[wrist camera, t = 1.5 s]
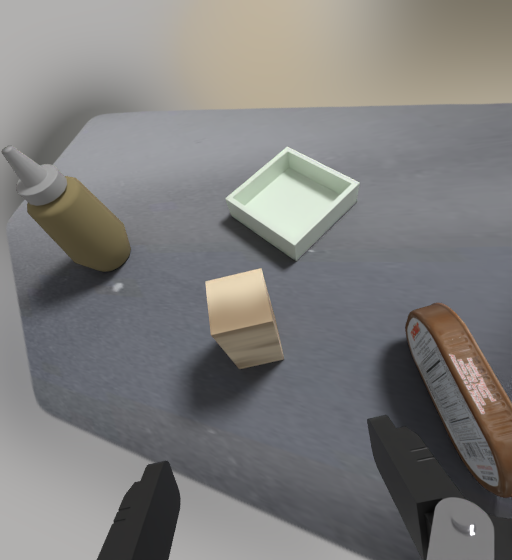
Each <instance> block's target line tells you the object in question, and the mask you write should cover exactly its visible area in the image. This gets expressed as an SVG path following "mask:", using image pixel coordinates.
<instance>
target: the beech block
mask: <svg viewBox="0 0 512 560" xmlns="http://www.w3.org/2000/svg"><path fill="white" fill-rule="evenodd" d="M205 283H206V292H207V302H208V311H209V321H210V330H211V336H212V337H213V338H214V339H215V340H216V342H217V343H218V344H219V345H220V346H221V348H222V349H223V350H224V351H225V352H226V354H227V355H228V356H229V357H230V358H231V360H232V361H233V362H234V363H235V364H236V366H237V367H238V368H239V369H243V368H247V367H252V366H256V365H261V364H266V363H270V362H275V361H279V360H284V356H283V351H282V347H281V342H280V338H279V333H278V329H277V324H276V320H275V316H274V312H273V309H272V305H271V301H270V298H269V294H268V291H267V287H266V283H265V280H264V276H263V273H262V269H261V268H260V269H256V270H252V271H248V272H244V273H239V274H235V275H231V276H227V277H222V278H218V279H214V280H210V281H206V282H205Z"/></svg>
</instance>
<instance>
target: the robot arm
mask: <svg viewBox="0 0 512 560" xmlns="http://www.w3.org/2000/svg"><path fill="white" fill-rule="evenodd" d="M367 423H368V429H369V435H370V441H371V447H372V452H373V456H374V460H375V462H376V465H377V468H378V470H379V472H380V474H381V476H382V478H383V480H384V482H385V484H386V486H387V488H388V490H389V492H390V495H391V497H392V499H393V501H394V503H395V505H396V507H397V509H398V511H399V513H400V515H401V517H402V519H403V521H404V523H405V525H406V527H407V529H408V531H409V533H410V536H411V538H412V540H413V542H414V544H415V546H416V548H417V550H418V552H419V554H420V556H421V558H422V560H512V519H507V518H500V517H496V516H492V515H489V514H487V513H485V512H484V511H483V510H482V509H481V508H480V507H478V506H477V505H475V504H474V503H472V502H470V501H468V500H466V499H465V498H464V497H463V495H462V494H461V493H460V491H459V490H458V489H457V487H456V486H455V484H454V483H453V482H452V480H451V479H450V478H449V476H448V475H447V474H446V472H445V471H444V469H443V468H442V467H441V465H440V464H439V463H438V461H437V460H436V459H435V458H434V456H433V455H432V453H431V452H430V450H429V449H427V446H426V445H425V444H424V442H423V441H422V440H421V438H420V437H419V435H417V434H416V433H415V432H413V431H412V430H410V429H409V428H407V427H406V426H405V427H400V428H395V426H394V424H393V423H392V421H391V420H390V418H389V417H388V416H387V415H384V416H379V417H374V418H369V419H367ZM179 511H180V493H179V489H178V486H177V483H176V481H175V478H174V475H173V472H172V469H171V466H170V464H169V462H168V461H163V462H158V463H153V464H149V465H147V467H146V468H145V471H144V474H143V476H142V479H141V481H139V482H135V483H134V484H133V485H132V487H131V488H130V489H129V490H128V492H127V493H126V494H125V496H124V498H123V500H122V503H121V505H120V507H119V512H117V514H116V517H115V519H114V524H112V526H111V528H110V530H109V533H108V535H107V537H106V540H105V542H104V544H103V547H102V549H101V552H100V554H99V556H98V558H97V560H168V559H169V554H170V549H171V546H172V541H173V536H174V532H175V528H176V524H177V519H178V515H179Z"/></svg>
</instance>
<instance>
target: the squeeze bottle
mask: <svg viewBox="0 0 512 560" xmlns="http://www.w3.org/2000/svg"><path fill="white" fill-rule="evenodd" d="M2 154H3V155H4V157H5V158H6V160H7V161H8V163H9V164H10V165H11V167H12V168H13V170H14V171H15V173H16V174H17V176H18V177H19V181H18V183H17V185H16V190H17V192H18V193H19V194H20V195H21V196H22V197H23V198H24V199H25V200H26V201H27V202H28V204H27V212H28V213H29V215H30V216H31V217H32V218H33V219H34V220H35V221H36V222H37V223H38V224H39V225H40V226H41V227H42V228H43V229H44V231H45V232H46V233H47V234H48V235H49V236H50V237H51V238H52V239H53V240H54V241H55V242H56V243H57V244H58V245H59V246H60V247H61V248H62V249H63V250H64V252H65V253H66V254H67V255H68V256H69V257H70V258H71V259H72V260H73V261H74V262H75V263H77V264H80V265H83V266H86V267H89V268H92V269H95V270H99V271H102V272H106V271H112V270H114V269H116V268H119V267H120V266H121V265H122V264H123V263H124V262H125V261H126V260H127V258H128V257H129V255H130V250H131V248H130V244H129V241H128V237H127V234H126V230H125V227H124V224H123V223H122V222H121V221H120V220H119V219H118V218H117V217H116V216H115V215H114V214H113V213H112V212H111V211H110V210H109V209H108V208H107V207H106V206H105V205H104V204H103V203H101V202H100V201H99V200H98V199H97V198H96V197H95V196H94V195H93V194H92V193H91V192H90V191H89V190H88V189H87V188H86V187H85V186H84V185H83V184H82V183H81V182H80V181H79V180H77V179H76V178H73V177H68V176H64V175H63V174H62V173H61V172H60V171H59V170H58V169H57V168H56V167H55V166H54V165H49V164H45V165H38V164H37V163H35V162H34V161H33V160H31V159H30V158H28V157H27V156H26V155H24V154H23V153H22V152H20V151H19V150H17V149H16V148H15V147H13V146H7V147H5V148H4V149H3V150H2Z"/></svg>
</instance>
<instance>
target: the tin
mask: <svg viewBox="0 0 512 560" xmlns="http://www.w3.org/2000/svg"><path fill="white" fill-rule="evenodd" d="M405 329H406V336H407V341H408V345H409V348H410V351H411V354H412V357H413V359H414V361H415V364H416V366H417V368H418V370H419V372H420V375H421V377H422V379H423V381H424V383H425V386H426V388H427V390H428V392H429V394H430V396H431V399H432V401H433V403H434V405H435V407H436V409H437V411H438V414H439V416H440V418H441V420H442V422H443V424H444V426H445V428H446V430H447V433H448V435H449V437H450V439H451V441H452V443H453V445H454V447H455V448H456V450H457V452H458V454H459V456H460V457H461V459H462V461H463V462H464V464H465V465H466V467H467V468H468V470H469V471H470V472H471V474H472V475H473V476H474V478H475V479H476V480H477V481H478V482H479V483H480V484H481V485H482V486H483V487H484V488H485V489H487V490H488V491H490V492H492V493H494V494H495V495H497V496H500V497H503V498H508V497H512V403H511V401H510V399H509V397H508V396H507V394H506V392H505V391H504V389H503V387H502V386H501V384H500V382H499V381H498V379H497V377H496V375H495V374H494V372H493V370H492V369H491V367H490V365H489V364H488V362H487V360H486V358H485V357H484V355H483V353H482V351H481V350H480V348H479V346H478V345H477V343H476V341H475V339H474V338H473V336H472V334H471V333H470V331H469V329H468V328H467V326H466V325H465V323H464V322H463V321H462V319H461V318H460V317H459V316H458V315H457V314H456V313H455V312H454V311H453V310H452V309H451V308H449V307H448V306H446V305H444V304H442V303H434V304H432V305H430V306H427V307H423V308H419V309H416V310H413V311H412V312H410V314H409V316H408V319H407V322H406V326H405Z"/></svg>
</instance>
